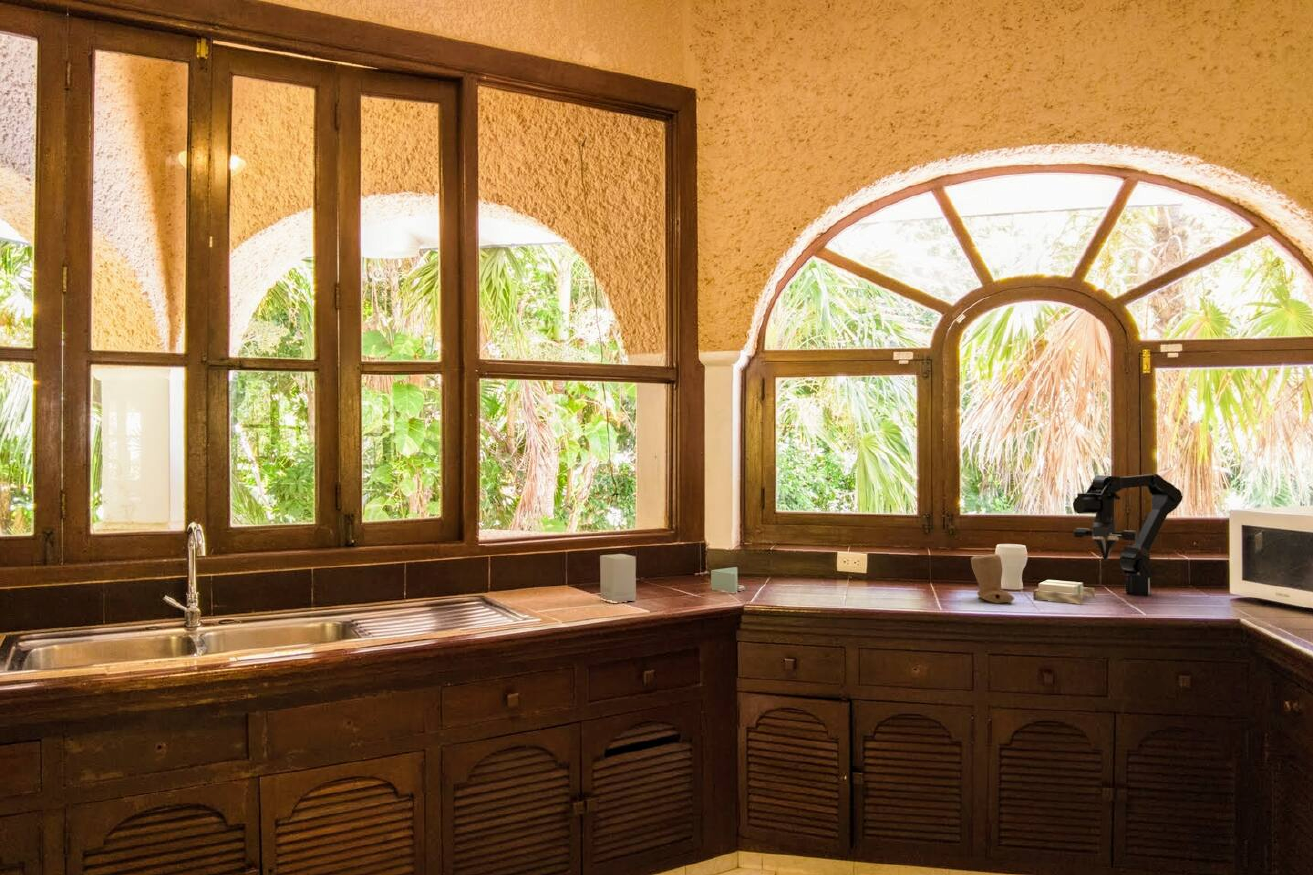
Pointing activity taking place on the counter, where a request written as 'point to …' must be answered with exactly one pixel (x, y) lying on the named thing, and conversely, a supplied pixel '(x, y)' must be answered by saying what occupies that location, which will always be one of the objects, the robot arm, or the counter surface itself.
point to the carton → (1061, 586)
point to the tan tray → (1063, 596)
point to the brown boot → (990, 578)
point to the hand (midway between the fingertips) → (1105, 559)
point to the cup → (1012, 564)
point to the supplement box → (618, 577)
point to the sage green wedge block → (725, 580)
